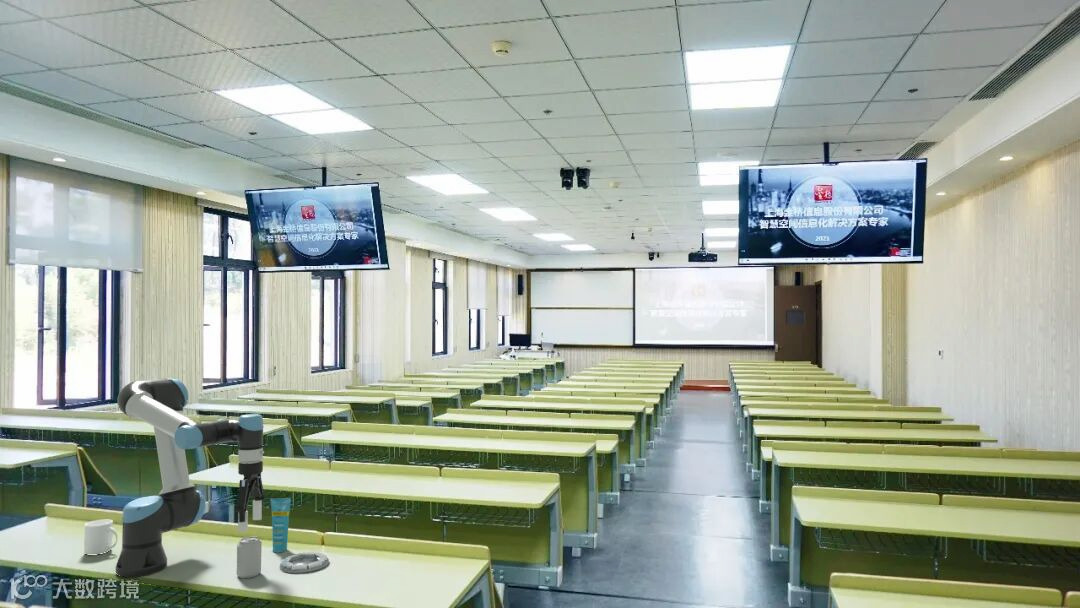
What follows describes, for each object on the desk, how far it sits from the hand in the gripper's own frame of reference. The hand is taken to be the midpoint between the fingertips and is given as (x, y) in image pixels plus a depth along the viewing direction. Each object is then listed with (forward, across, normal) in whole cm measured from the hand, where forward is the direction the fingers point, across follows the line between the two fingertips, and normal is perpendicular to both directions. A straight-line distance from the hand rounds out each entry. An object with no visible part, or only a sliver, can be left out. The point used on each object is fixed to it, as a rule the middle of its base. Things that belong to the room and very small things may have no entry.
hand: (250, 525), depth 223 cm
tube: (+16, +24, -3) cm, 29 cm away
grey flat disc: (+16, +8, -16) cm, 24 cm away
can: (+16, 0, 0) cm, 17 cm away
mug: (+16, +27, +61) cm, 69 cm away
